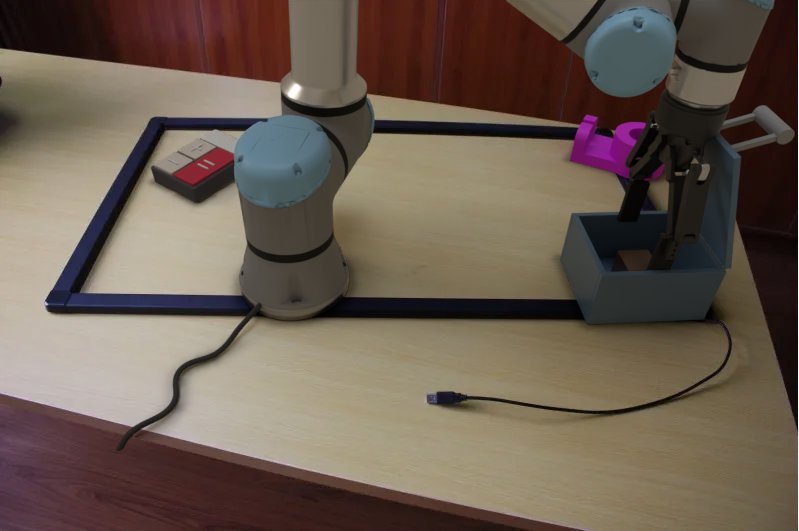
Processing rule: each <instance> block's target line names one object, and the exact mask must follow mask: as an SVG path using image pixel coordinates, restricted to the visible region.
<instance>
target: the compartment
mask: <svg viewBox="0 0 799 531" xmlns="http://www.w3.org/2000/svg"><path fill="white" fill-rule="evenodd" d="M667 211H668V209H667V210H665V209H664V210H641V212H640V215H639V217H638V220H637V222H618V220H617V217H618V214H619V211H598V212H597V211H595V212H572V213H571V214H570V219H569V222H568V226H567V230H566V233H565V234H566V235H565V237H564V242H563V246H562V250H561V254H560V258H559V261H560V264H561V266H562V268H563V271H564V273H565V275H566V278H567V280H568V282H569V285H570V287H571V290H572V292H573V294H574V297H575V299H576V302H577V305H578V307H579V309H580V311H581V314H582V316H583V318H584V321H585V323H586V325H602V324H605V325H606V324H627V323H650V322H651V323H652V322H654V323H655V322H675V321H701V320H702V321H703V320H705V319H706V316H707V313H708V311H709V310H710V307H711V305H712V304H713V301H714V299H715V297H716V296H717V293H718V291H719V289H720V287H721V285H722V283H723V281H724V278H725V277H726V274H727V269H724V267H723V266H722V264H721V263H720V261H719V260H718V259H717V257H716V256H715V254H714V253H713V252H712V250H711V249H710V247H709V246H708V245H707V243H706V242H705V240H704V239H703V237H702V236H701V235H699V240H698V242H697V243H691V244H682V247H681V249H680V251H679V253H678V256H677V258H676V259H674V262H673V264H672V266H671V269H670V270H650V271H622V272H611V270H612V266H613V263H614V260H615V257H616V254H617V251H618V250H645V249H648V250H649V252H650V254H651V255H652V254H653V252H654V249H655V247H656V244H657V242H658V239H659V237H660V233H661V232H662V231H666V228H667ZM675 229H676V228H675Z"/></svg>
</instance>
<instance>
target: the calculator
mask: <svg viewBox="0 0 799 531" xmlns="http://www.w3.org/2000/svg"><path fill="white" fill-rule="evenodd" d="M238 140H239V138H238V137H236V136H235V137H234V135H230V134H228V133H226V132H223V131H221V130H219V129H213V130H211V131H209V132H208V133H206V134H204V135H203V136H201V137H200V138H196V139H194V140H192V141H190V142H189V143H187V144H185V145H183V146H181V147H180V148H179V149H177V151H173V152H172V153H170V154H168V155H166V156H165V157H162V158H161V159H159V160H158V161H157V160H156V161H155V162H154V163H153V165H151V166H150V170H151V173H152V176H153V180H154V182H155V183H157V184H159V185H160V186H163V187H164V188H166V189H169V190H171V191H172V192H174V193H175V194H177V195H180V196H182V197H183V198H185V199H188V200H190V201H191V202H193V203H195V204H198V203H201V202H202V201H204V200H206V198H208V197H210V196H212V194H214V193H216V192H218V191H219V190H220V189H222V188H224V187H226V185H229V183H231V182H233V181H235V176H234V165H235V163H234V151H235V146H236V143H237V141H238Z"/></svg>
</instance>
